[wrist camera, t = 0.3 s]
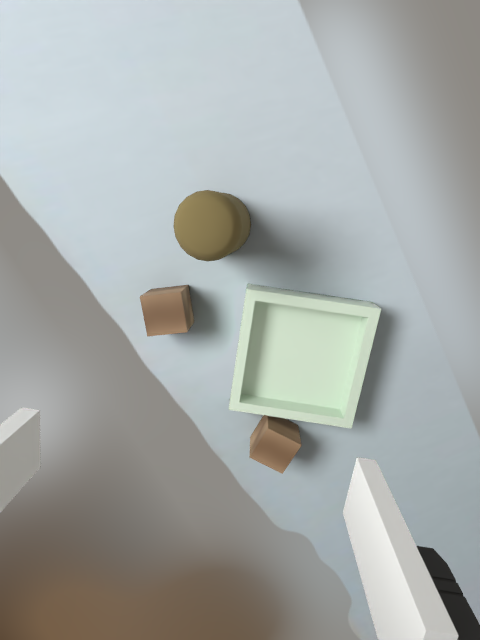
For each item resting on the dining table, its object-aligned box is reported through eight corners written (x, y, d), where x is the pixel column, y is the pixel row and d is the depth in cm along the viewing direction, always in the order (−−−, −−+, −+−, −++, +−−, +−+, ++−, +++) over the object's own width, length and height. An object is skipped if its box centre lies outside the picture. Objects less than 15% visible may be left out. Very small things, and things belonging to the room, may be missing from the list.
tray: (247, 283, 39) (246, 288, 36) (372, 302, 39) (381, 308, 36) (230, 396, 42) (228, 409, 39) (345, 414, 42) (351, 428, 39)
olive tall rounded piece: (240, 184, 36) (232, 170, 26) (258, 244, 38) (257, 255, 27) (182, 203, 37) (151, 198, 27) (201, 262, 39) (179, 279, 28)
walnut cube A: (151, 288, 40) (139, 296, 36) (188, 284, 39) (180, 291, 36) (158, 325, 41) (147, 336, 37) (194, 321, 40) (187, 332, 37)
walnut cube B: (267, 409, 43) (267, 428, 39) (297, 424, 43) (301, 445, 39) (250, 436, 44) (249, 457, 40) (280, 451, 44) (282, 473, 40)
